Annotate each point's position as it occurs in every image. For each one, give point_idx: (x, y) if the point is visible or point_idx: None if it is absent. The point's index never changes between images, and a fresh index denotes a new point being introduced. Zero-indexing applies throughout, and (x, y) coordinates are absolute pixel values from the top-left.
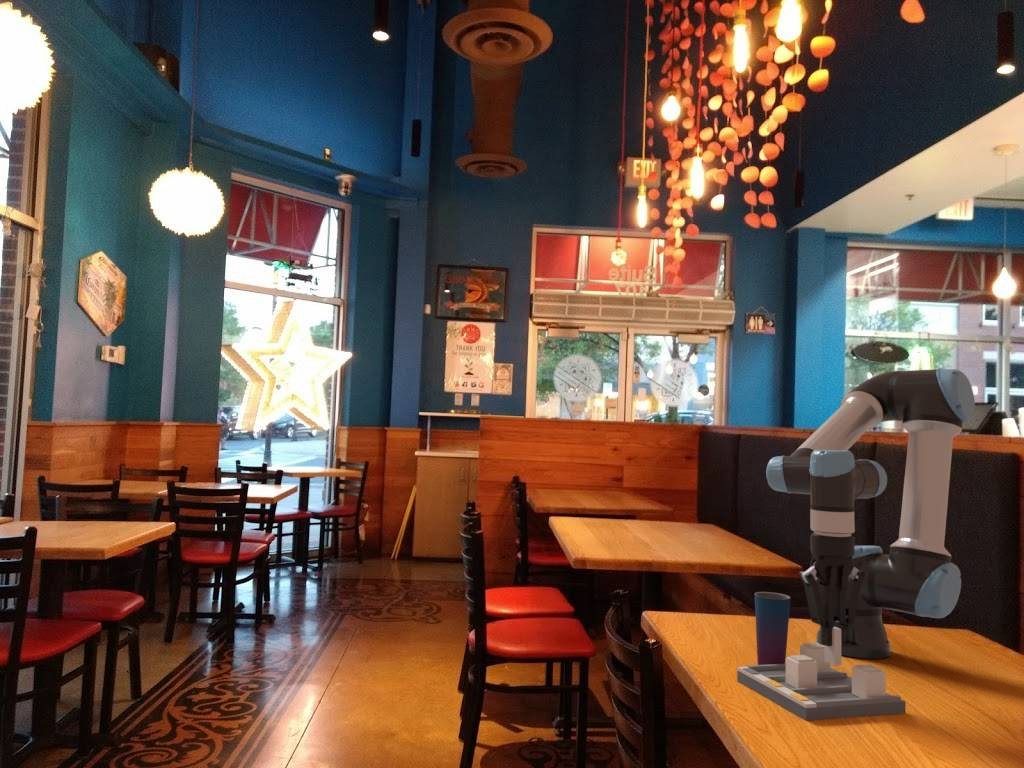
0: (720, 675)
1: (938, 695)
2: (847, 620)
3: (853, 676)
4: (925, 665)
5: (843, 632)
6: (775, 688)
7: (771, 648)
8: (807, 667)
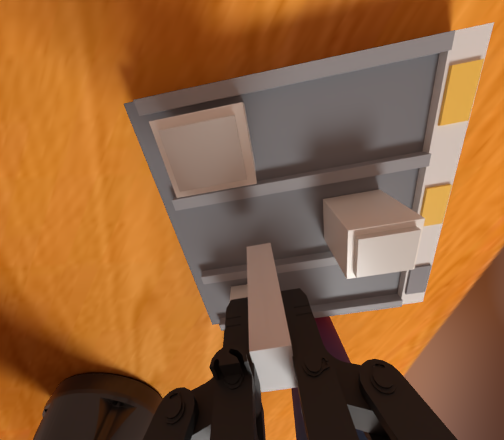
0: (412, 304)
1: (17, 226)
2: (196, 412)
3: (254, 167)
4: (8, 356)
5: (226, 344)
6: (452, 178)
7: (338, 353)
8: (378, 217)
